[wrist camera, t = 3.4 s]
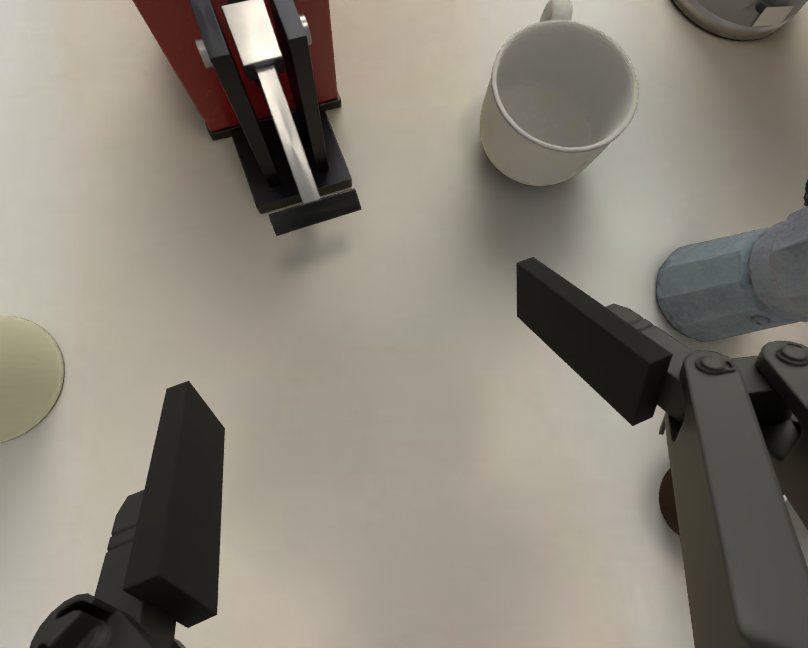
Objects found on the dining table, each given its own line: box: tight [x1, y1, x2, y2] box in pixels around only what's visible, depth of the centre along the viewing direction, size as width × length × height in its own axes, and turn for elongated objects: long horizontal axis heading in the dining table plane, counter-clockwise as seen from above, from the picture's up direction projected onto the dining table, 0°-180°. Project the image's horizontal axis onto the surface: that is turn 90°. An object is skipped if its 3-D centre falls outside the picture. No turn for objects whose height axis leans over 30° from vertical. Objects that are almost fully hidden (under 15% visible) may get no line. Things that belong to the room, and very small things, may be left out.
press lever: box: [221, 0, 361, 236], centre depth 23 cm, size 12×6×2 cm, turn 23°
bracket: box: [189, 0, 352, 214], centre depth 27 cm, size 7×8×14 cm
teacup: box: [480, 0, 639, 186], centre depth 32 cm, size 14×11×8 cm
